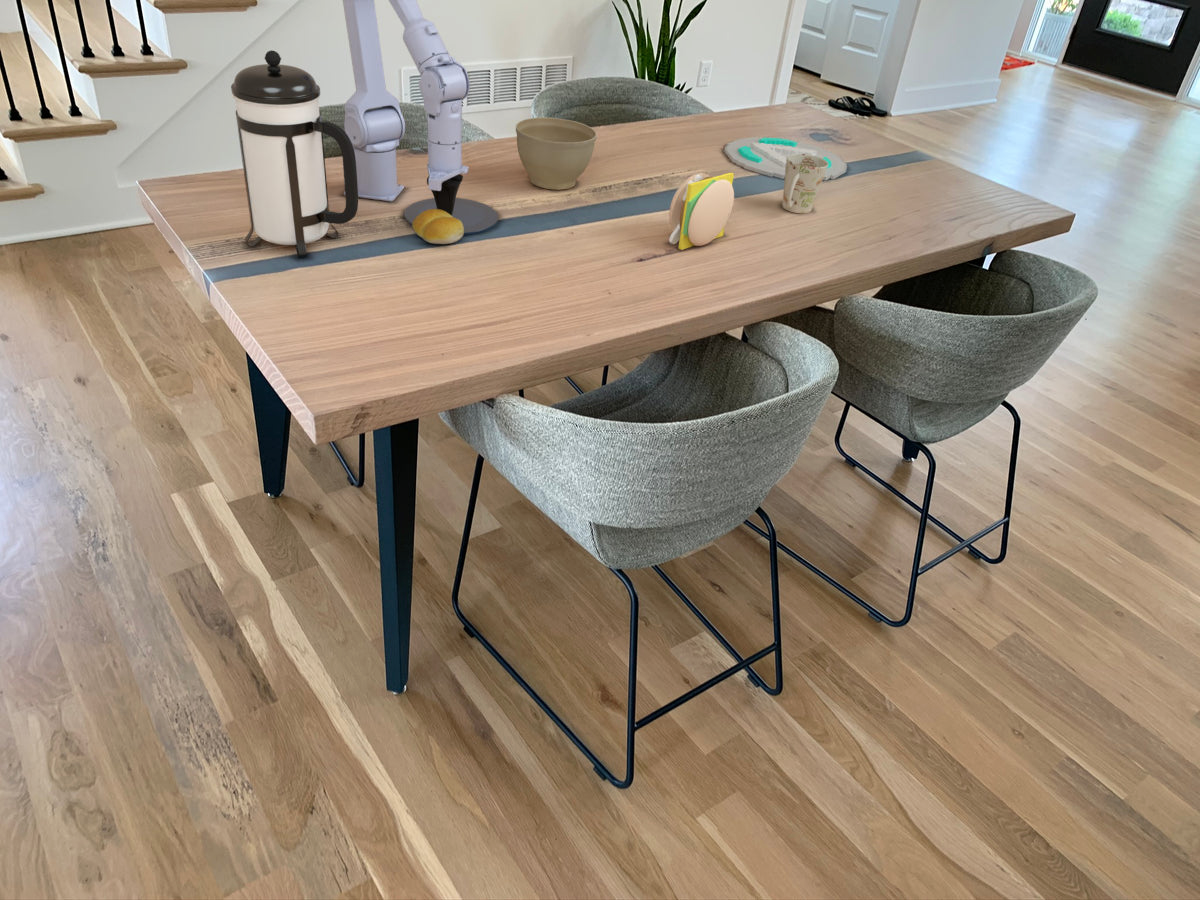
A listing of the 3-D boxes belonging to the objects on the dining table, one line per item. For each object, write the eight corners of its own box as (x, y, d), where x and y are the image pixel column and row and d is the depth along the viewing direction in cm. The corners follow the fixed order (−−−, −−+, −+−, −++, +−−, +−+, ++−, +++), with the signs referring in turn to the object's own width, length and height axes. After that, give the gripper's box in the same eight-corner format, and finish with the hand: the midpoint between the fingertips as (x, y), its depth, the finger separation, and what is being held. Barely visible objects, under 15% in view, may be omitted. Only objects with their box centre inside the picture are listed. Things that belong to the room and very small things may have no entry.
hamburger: (698, 225, 174) (708, 163, 167) (732, 240, 169) (743, 177, 162) (657, 238, 167) (665, 174, 160) (690, 254, 162) (701, 189, 155)
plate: (392, 228, 159) (392, 225, 159) (419, 195, 173) (419, 192, 172) (487, 241, 158) (487, 238, 158) (506, 206, 172) (506, 204, 172)
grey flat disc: (760, 133, 228) (761, 126, 227) (862, 162, 216) (864, 156, 215) (704, 156, 209) (705, 149, 208) (813, 189, 197) (815, 182, 196)
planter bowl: (576, 202, 177) (580, 147, 171) (501, 186, 181) (502, 131, 174) (602, 179, 190) (607, 126, 184) (531, 163, 193) (534, 112, 187)
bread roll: (434, 249, 152) (433, 227, 150) (405, 230, 158) (405, 208, 155) (474, 239, 157) (474, 217, 155) (445, 221, 162) (445, 200, 160)
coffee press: (251, 266, 142) (223, 65, 124) (241, 226, 153) (213, 38, 136) (362, 257, 148) (350, 65, 131) (344, 219, 160) (331, 39, 142)
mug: (820, 207, 189) (832, 159, 183) (805, 225, 179) (817, 176, 173) (782, 197, 191) (793, 150, 185) (766, 215, 182) (776, 166, 176)
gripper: (457, 156, 147) (457, 234, 155) (477, 130, 158) (476, 204, 166) (415, 150, 147) (417, 229, 155) (438, 125, 159) (438, 199, 167)
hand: (445, 216), depth 161 cm, fingers closed
